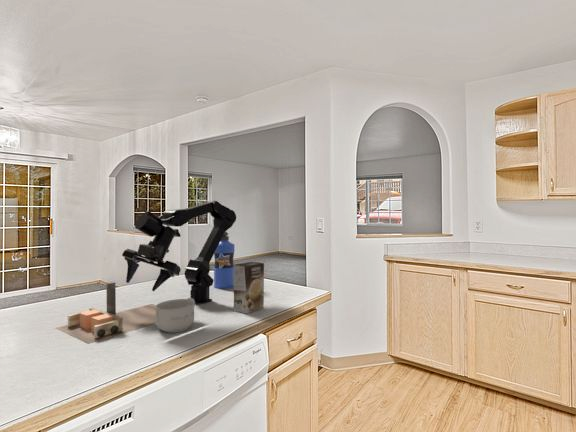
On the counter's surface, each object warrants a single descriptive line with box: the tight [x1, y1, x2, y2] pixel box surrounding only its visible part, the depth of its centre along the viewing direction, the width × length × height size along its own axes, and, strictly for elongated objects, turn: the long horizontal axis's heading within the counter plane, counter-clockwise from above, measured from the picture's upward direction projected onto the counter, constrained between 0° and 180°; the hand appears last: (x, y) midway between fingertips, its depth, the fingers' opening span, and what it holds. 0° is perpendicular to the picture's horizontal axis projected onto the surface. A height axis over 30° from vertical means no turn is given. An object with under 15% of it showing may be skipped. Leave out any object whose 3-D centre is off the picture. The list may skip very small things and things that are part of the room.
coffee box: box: [233, 261, 265, 314], centre depth 120 cm, size 9×6×16 cm
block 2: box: [91, 314, 113, 332], centre depth 97 cm, size 4×4×4 cm
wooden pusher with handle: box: [67, 281, 123, 338], centre depth 99 cm, size 10×18×12 cm, turn 55°
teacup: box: [155, 297, 196, 334], centre depth 101 cm, size 14×11×8 cm
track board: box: [55, 303, 157, 345], centre depth 106 cm, size 31×20×1 cm, turn 145°
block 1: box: [79, 310, 101, 329], centre depth 101 cm, size 4×4×4 cm
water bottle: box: [213, 231, 235, 290], centre depth 155 cm, size 9×9×25 cm
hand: (139, 286), depth 110 cm, fingers open, 9 cm apart
